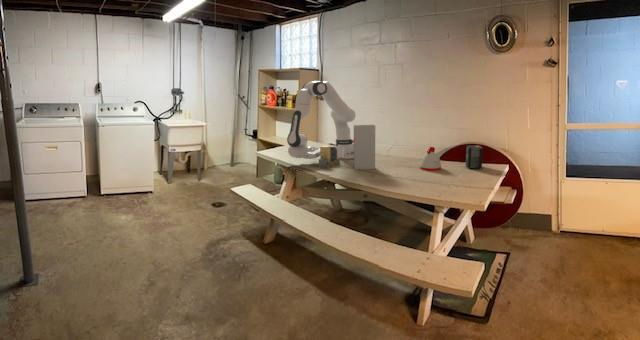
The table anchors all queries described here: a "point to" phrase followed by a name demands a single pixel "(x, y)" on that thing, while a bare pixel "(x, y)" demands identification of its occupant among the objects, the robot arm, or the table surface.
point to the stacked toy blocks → (332, 157)
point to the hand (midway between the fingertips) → (326, 153)
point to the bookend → (323, 163)
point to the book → (325, 150)
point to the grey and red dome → (430, 161)
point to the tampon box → (474, 156)
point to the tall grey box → (364, 147)
